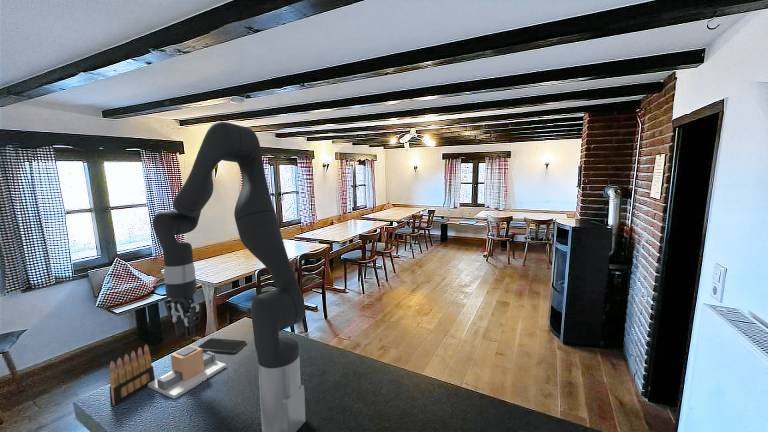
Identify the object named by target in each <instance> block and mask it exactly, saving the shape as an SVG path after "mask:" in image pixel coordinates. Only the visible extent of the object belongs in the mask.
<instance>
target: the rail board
mask: <svg viewBox="0 0 768 432" xmlns="http://www.w3.org/2000/svg"><path fill="white" fill-rule="evenodd" d="M203 362H204V371H202V372H201V373H199V374H197V375H195V376H194V377H192V378H190V379H189V380H187V381H185V382H184V381H182V373H181V372H178V371H175V372H172V370H171V371H169V372H167V373H166V374H164V375H161V376H159V377H158V378H155V380H154V381H152V382H150V383H148V387H147V388H149V389H151V390H154V391H155V392H158V393H160V394H163V395H164V396H166V397H169V398H171V399H174V400H176V399H177V398H179V397H181V396H182V395H184V394H185V393H186V392H188V391H189V390H191V389H193V388H195V387H197V386H199V384H201V383H203V382H205V381H206V380H207V378H208V379H209V378H210V377H212V376H215V374H217V373H219V372H220V371H222V370H223V369H225V368H227V364H226V363H224V362H220V361H218V360H216V353H212V352H209V351H208V352H205V354H203ZM202 381H203V382H202Z"/></svg>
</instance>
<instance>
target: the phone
mask: <svg viewBox="0 0 768 432" xmlns="http://www.w3.org/2000/svg"><path fill="white" fill-rule="evenodd" d="M246 345H247V341H246V340H240V339H239V340H238V339H237V340H236V339H225V338H218V337H217V338H214V337H212V338H211V337H210V338H208V339H206V340H205V341H203V343H201V344H200V345H198V346H197V347H199V348H202V350H203V353H206V352H208V351H209V352H212V353H215V354H222V355H235V354H238V352H239V351H240V350H241V349H243V348H244V347H245V346H246Z"/></svg>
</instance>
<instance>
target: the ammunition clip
mask: <svg viewBox="0 0 768 432" xmlns="http://www.w3.org/2000/svg"><path fill="white" fill-rule="evenodd" d="M143 350H144V353H143ZM116 361H117V363H116V364H115V361H113V360H111V361H110V364H109V383H110V384H109V385H110V386H109V399H110V406H113V407H114V406H115V407H117V406H119V405H120V404H122V403H124V402H125V401H127V400H128V399H130V398H132V397H133V396H135V395H136V394H138V393H140V392H141V391H143V390H144V389H146V388H149V387H148V383H150V382H152V381H154V380H156V377H155V372H154V371H155V370H154V366H153V364H152V356H151V353H150V348H149V345H148V344H145V345H144V349H142V347H138V351H137V355H136V353H135V351H134V350H132V351H131V354H130V357H129V355H128V354H127V353H125V355H124V360H123V361H122V358H121V357H118V359H117V360H116ZM123 362H124V363H123ZM116 368H117V369H116Z"/></svg>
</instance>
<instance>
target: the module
mask: <svg viewBox="0 0 768 432" xmlns="http://www.w3.org/2000/svg"><path fill="white" fill-rule="evenodd" d="M203 353H204V352H203V350H202V348H199V347H198V346H195V345H192V344H189V345H188V346H186V347H183V348H182V349H180V350H177V351H176V352H174V353H171V354H170V360H171V371H172V372H175V371H178V372H181V373H182V381H184V382H185V381H187V380H189V379H190V378H192V377H194V376H195V375H197V374H199V373H201V372H202V371H204V362H203V356H204V354H203Z"/></svg>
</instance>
